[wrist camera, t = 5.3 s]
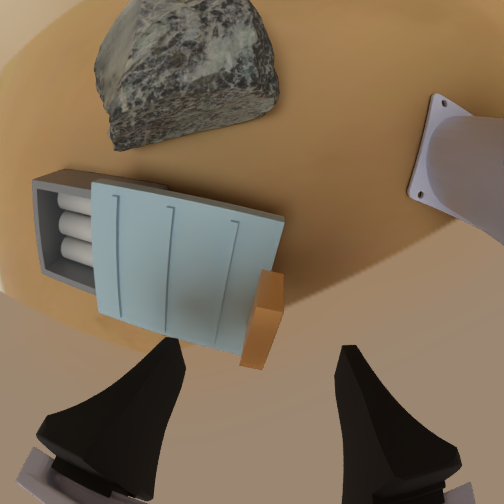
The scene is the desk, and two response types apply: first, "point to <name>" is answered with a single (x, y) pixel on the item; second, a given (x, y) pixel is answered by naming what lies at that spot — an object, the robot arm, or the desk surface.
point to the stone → (184, 69)
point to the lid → (188, 267)
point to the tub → (68, 224)
